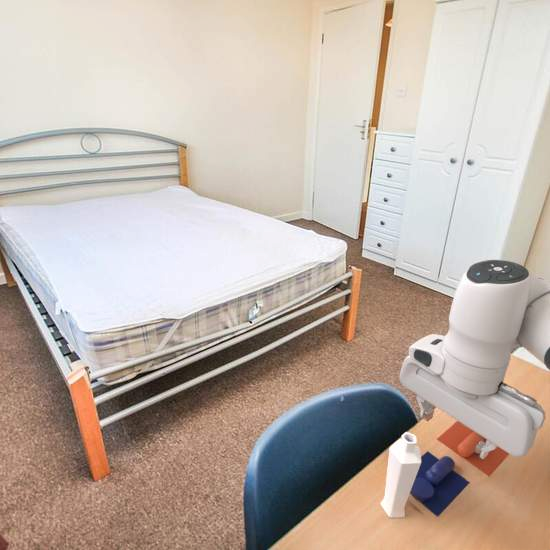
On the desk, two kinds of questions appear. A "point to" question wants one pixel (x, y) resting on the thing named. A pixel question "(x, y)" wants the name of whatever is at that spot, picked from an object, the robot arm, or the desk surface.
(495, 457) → the terracotta mat
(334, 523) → the desk surface
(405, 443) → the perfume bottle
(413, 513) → the desk surface
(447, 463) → the navy bulbous segmented part
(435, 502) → the navy mat
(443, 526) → the desk surface
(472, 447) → the orange stubby capsule part
